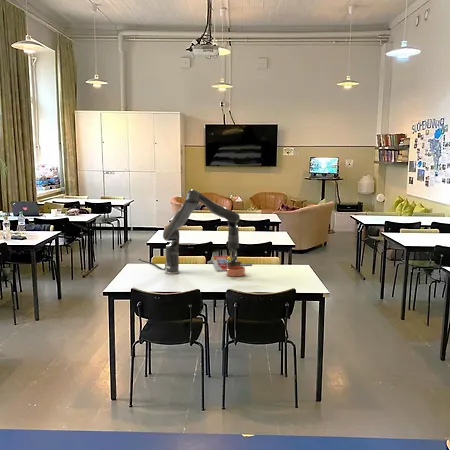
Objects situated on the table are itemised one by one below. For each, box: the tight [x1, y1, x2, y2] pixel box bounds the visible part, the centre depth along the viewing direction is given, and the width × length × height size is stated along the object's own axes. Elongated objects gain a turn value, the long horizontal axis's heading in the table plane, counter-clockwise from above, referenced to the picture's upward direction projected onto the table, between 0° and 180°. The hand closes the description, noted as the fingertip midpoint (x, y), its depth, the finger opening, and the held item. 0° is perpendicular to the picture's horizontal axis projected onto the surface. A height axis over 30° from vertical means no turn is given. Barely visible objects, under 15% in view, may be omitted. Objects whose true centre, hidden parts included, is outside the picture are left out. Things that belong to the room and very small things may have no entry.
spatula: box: [227, 260, 253, 267], centre depth 312 cm, size 17×5×3 cm, turn 103°
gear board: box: [210, 255, 238, 272], centre depth 358 cm, size 45×2×19 cm
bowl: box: [226, 266, 246, 278], centre depth 325 cm, size 13×13×5 cm
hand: (233, 265), depth 311 cm, fingers closed on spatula, 2 cm apart
